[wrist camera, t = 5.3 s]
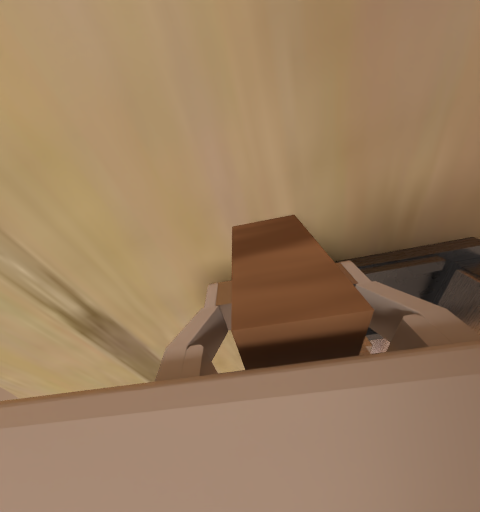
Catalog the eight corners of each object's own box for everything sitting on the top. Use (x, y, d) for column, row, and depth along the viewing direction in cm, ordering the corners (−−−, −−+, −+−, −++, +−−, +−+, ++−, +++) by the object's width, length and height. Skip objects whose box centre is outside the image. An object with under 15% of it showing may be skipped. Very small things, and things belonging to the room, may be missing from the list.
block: (232, 226, 11) (231, 330, 5) (294, 214, 11) (374, 309, 5) (243, 274, 14) (252, 388, 7) (295, 265, 13) (351, 376, 7)
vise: (248, 277, 20) (258, 357, 12) (473, 237, 18) (651, 301, 11) (262, 339, 26) (274, 419, 19) (432, 313, 25) (526, 390, 17)
